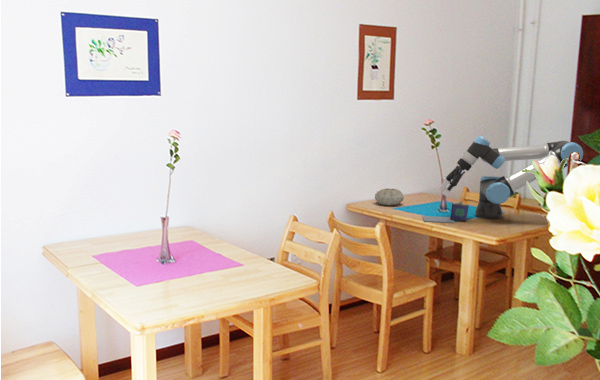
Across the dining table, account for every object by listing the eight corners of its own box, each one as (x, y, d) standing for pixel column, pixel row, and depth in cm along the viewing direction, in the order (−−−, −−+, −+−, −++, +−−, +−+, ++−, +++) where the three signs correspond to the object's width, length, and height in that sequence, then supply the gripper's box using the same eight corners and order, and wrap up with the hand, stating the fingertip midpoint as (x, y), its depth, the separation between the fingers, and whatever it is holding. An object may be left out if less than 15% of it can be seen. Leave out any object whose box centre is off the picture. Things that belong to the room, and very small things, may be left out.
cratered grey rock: (369, 202, 368) (370, 187, 366) (393, 201, 374) (394, 185, 373) (384, 208, 351) (384, 191, 350) (409, 206, 358) (409, 190, 357)
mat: (451, 218, 326) (451, 217, 326) (454, 223, 313) (454, 222, 313) (422, 216, 328) (422, 215, 328) (424, 221, 315) (424, 220, 315)
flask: (466, 220, 320) (468, 201, 319) (467, 221, 317) (470, 202, 316) (449, 218, 320) (452, 199, 319) (450, 219, 318) (453, 200, 316)
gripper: (457, 154, 329) (433, 184, 333) (465, 160, 304) (440, 192, 309) (468, 162, 329) (444, 191, 333) (477, 169, 305) (451, 200, 309)
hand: (442, 192), depth 321 cm, fingers open, 13 cm apart
